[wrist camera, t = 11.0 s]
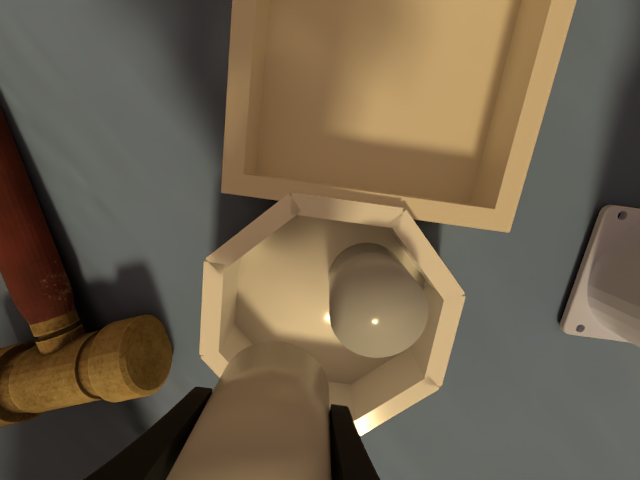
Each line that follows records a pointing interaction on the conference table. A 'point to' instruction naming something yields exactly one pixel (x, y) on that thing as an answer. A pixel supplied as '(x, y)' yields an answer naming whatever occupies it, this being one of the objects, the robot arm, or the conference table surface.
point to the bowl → (326, 299)
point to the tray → (391, 102)
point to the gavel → (61, 319)
